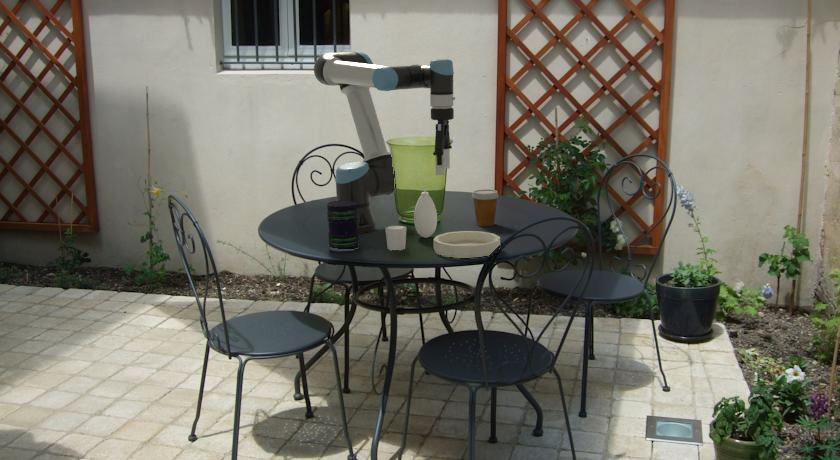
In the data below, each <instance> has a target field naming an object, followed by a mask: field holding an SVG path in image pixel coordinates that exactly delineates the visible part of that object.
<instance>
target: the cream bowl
mask: <svg viewBox="0 0 840 460" xmlns="http://www.w3.org/2000/svg"><path fill="white" fill-rule="evenodd" d="M432 243H433V249H434V253H435V254H436V255H438V256H440V255H441V257H443V258H444V257H445V258H449V257H453V258H452V259H460V258H471V257H482V256H488V257H490V256H489V255H490V254H491V253H492V252H493V251H494V250H495V249H496V248H497V247H498V246H499V245H500V246H501V237H500V236H499V235H497V234H496V233H493V232H492V233H491V232H488V231H480V230H479V231H477V230H476V231H475V230H460V231H459V230H458V231H450V232H445V233H441V234H437V235H436V236H435V237H434V238H433V242H432ZM482 258H483V257H482ZM471 259H472V258H471Z"/></svg>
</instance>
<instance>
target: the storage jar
mask: <svg viewBox="0 0 840 460" xmlns="http://www.w3.org/2000/svg"><path fill="white" fill-rule="evenodd" d="M326 206H327V207H326V208H327V211H326V214H327V222H328V233H327V237H328V240H327V241H328V245H329V247H332V248H338V249H355V248H358V247H359V248H360V245H359V243H360V242H359V241H360V236H359V235H360V233H359V232H358V229H357V220H358V215H357V214H358V210H357V202H355V201H337V200H334V201H329V202H328V203H326Z"/></svg>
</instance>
